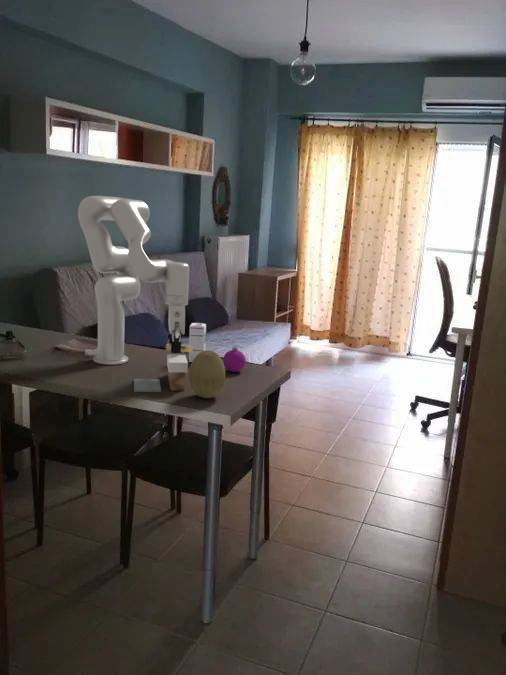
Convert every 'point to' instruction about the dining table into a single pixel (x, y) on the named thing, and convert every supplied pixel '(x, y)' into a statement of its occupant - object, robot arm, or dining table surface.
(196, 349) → the syrup box
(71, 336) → the dining table surface
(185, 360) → the cover
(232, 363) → the christmas ornament
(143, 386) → the mat
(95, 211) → the robot arm
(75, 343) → the dining table surface
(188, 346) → the golden rectangular block
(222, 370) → the fruit
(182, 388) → the housing
